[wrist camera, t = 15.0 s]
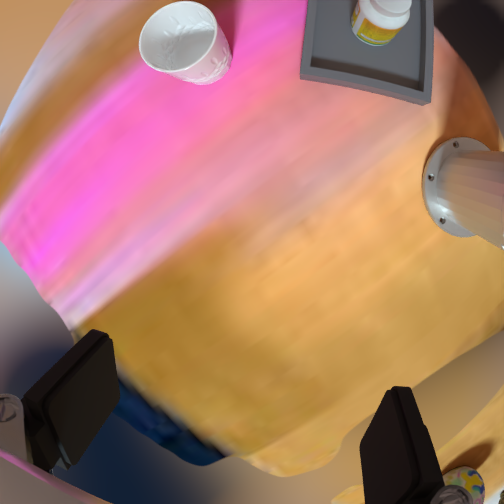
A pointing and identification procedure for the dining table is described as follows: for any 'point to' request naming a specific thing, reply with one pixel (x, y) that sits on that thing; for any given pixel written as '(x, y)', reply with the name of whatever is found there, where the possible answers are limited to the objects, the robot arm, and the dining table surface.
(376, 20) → the supplement bottle
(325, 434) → the dining table surface
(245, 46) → the dining table surface
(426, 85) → the tray
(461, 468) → the decorative egg
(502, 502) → the cup
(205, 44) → the white cup
